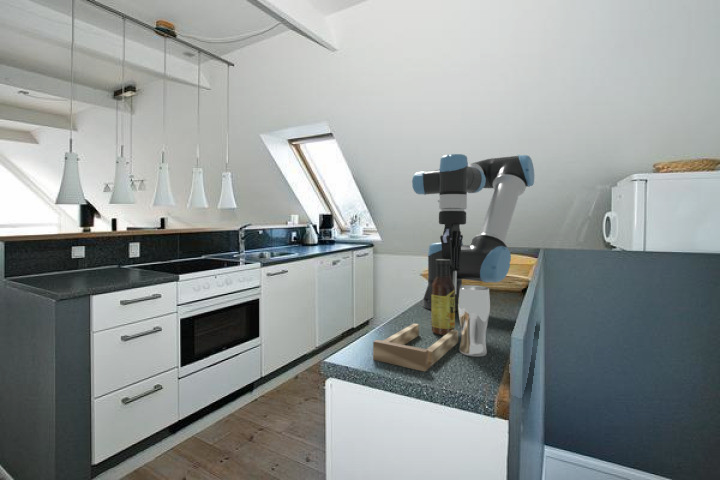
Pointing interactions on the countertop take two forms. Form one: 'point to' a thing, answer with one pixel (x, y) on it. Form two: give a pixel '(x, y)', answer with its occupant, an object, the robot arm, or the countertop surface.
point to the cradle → (412, 349)
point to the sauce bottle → (443, 299)
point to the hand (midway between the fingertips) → (450, 293)
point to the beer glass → (473, 319)
